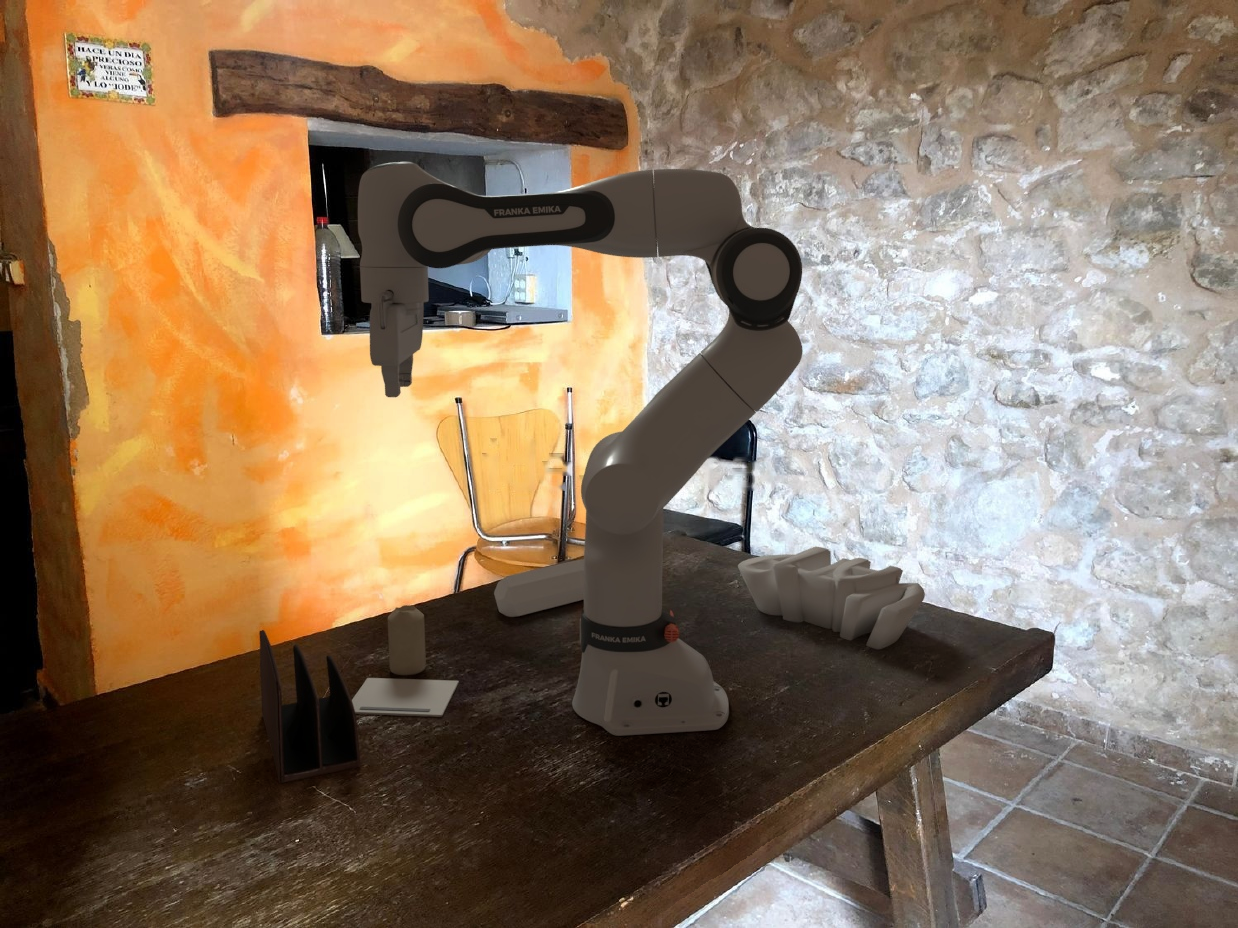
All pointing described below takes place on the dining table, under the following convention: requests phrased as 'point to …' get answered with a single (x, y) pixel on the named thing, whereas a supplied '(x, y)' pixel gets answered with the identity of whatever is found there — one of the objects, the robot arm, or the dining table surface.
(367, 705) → the white rectangular plate
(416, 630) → the candle
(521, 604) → the grey chamfered bar
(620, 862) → the dining table surface
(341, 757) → the letter holder
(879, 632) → the wavy white extrusion
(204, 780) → the dining table surface
